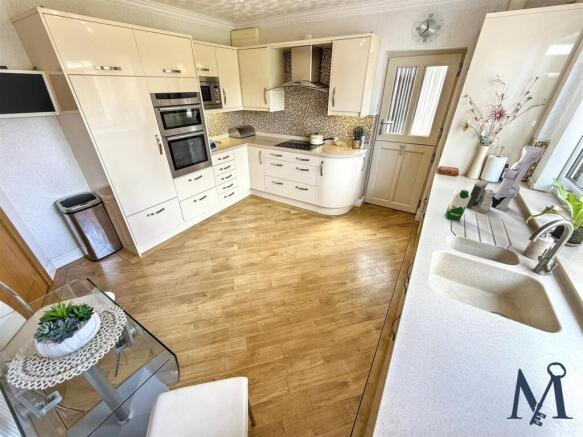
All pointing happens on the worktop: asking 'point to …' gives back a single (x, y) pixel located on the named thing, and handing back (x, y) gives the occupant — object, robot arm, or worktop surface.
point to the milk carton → (458, 205)
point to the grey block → (477, 196)
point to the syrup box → (485, 199)
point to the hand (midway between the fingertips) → (494, 206)
